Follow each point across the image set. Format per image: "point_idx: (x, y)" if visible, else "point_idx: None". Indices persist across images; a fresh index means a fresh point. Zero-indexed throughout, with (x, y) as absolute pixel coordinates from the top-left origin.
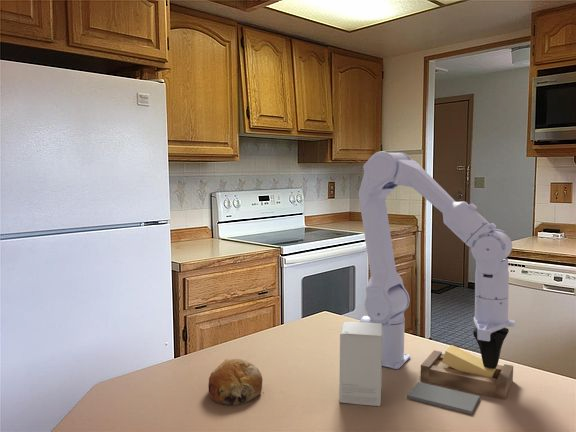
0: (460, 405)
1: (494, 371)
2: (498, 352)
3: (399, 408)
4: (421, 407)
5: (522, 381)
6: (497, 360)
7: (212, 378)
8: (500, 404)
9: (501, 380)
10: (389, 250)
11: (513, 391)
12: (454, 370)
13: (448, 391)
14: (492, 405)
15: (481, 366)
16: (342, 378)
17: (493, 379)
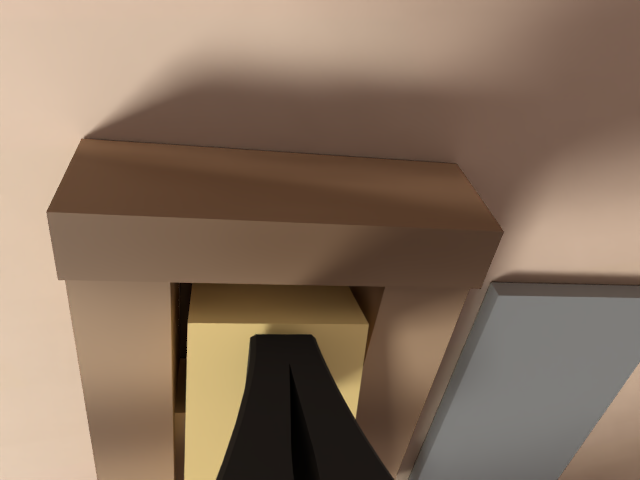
0: (626, 344)
1: (282, 318)
2: (388, 471)
3: (628, 469)
4: (613, 429)
5: (32, 63)
6: (337, 392)
7: None
8: (530, 182)
9: (456, 262)
10: None
11: (293, 122)
12: None
13: (480, 405)
14: (551, 218)
15: None
16: None
17: (410, 298)
